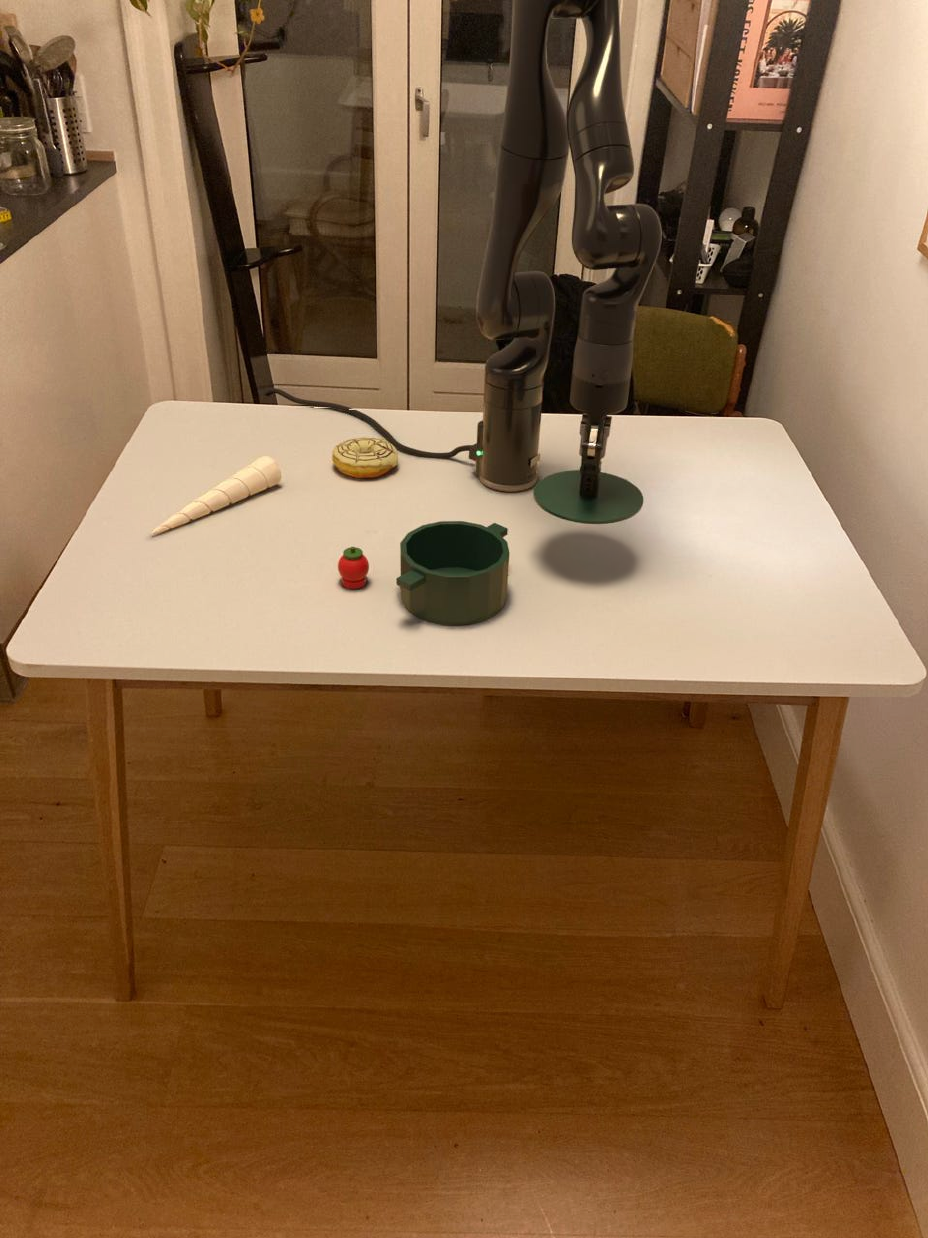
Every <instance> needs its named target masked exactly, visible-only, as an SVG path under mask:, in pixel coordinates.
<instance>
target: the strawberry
mask: <svg viewBox="0 0 928 1238" xmlns="http://www.w3.org/2000/svg"><path fill="white" fill-rule="evenodd" d="M369 570H370V563H369V560H368V558H367V557H366V555H365V554H364V553H363V550H362V549H361V548H360V547H356V546H351V547H350V546H349V547H347V548H345V549H344V550H343V551H342V555H341V557H340V558H339V560H338V562H337V571H338V574H339V575H340V576H341V579H342V580H341V581H342V585H343V587H345V588H346V589H351V590H356V589H361V588H363V587H365V585H366V584H367V575H368V573H369Z"/></svg>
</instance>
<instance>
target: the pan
mask: <svg viewBox="0 0 928 1238" xmlns="http://www.w3.org/2000/svg"><path fill="white" fill-rule="evenodd" d="M508 531H509V528H508V527H506V526H503V525H501V524H498V523H496V522H493V523H491V524H489V525H488V526H485V525H483V524H480V523H476V522H475V523H474V522H469V521H464V520H441V521H436V522H431V523H427V524H422V525H420V526H418V527H416V528H415V529H413V530H411V531H409V532H407V533H406V535H405V536H404V538H402V539H401V542H400V545H399V546H400V547H399V549H400V551H399V552H400V553H399V556H400V557H399V558H400V559H399V561H400V562H399V563H400V565H399V566H400V575H399V576H397V577H396V585H397V586H398V587H400V598H401V602H402V604H403V606H404V607H405V608H406V609H407V611H408V612H409V613H411V614H412V615H414V616H416V617H417V618H419V619H421V620H423V621H426V622H430V623H434V624H438V625H442V626H443V625H444V626H466V625H472V624H473V625H474V624H478V623H481V622H483V621H486V620H488V619H490V618H492V617H494V616H495V615H496V614H498V613H499V612H500V611H501V610H502V609H503V607H504V606H505V602H506V599H507V597H508V583H509V582H508V581H509V568H510V567H509V565H510V548H509V544H508V543H509V542H508V541H507V540H506V539H505V538H504V537H506V536H507V535H508V534H509V533H508Z"/></svg>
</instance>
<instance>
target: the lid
mask: <svg viewBox="0 0 928 1238" xmlns="http://www.w3.org/2000/svg"><path fill="white" fill-rule="evenodd" d="M600 468H601V470H600V473H599V475H598V481H597V489H596V496H595V497H594V498H588V497H581V496H580V485H581V476H582V474H580V471H579V470H580V469H572V470H564V471H563V470H562V471H558V472H555V473H554V472H553V473H552V474H549V475H547V476H545V477H543V478H541V479H540V480H539V481H538V482H536V483H535V485H534V487H533V500H534V502H535V503H536V505H538V506H539V508H540V509H542V510H543V511H544V512H546V513H547V514H549V515H551V516H554V517H556V518H559V519H561V520H565V521H567V522H572V523H577V524H584V525H609V524H615V523H619V522H620V523H621V522H624V521H626V520H629V519H631V518H633V517H635V516H636V515H637V514H639V512H640V511H641V510H642V508H643V506H644V494H643V492H642V491H641V489H639V488H638V487H637V486H636V485H635V484H634V483H633V482H630V481H629V480H628V479H626V478H623V477H621V476H619V475H616V474H612V473H608V472H603V471H602V460H601V461H600Z"/></svg>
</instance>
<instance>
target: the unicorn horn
mask: <svg viewBox="0 0 928 1238" xmlns="http://www.w3.org/2000/svg"><path fill="white" fill-rule="evenodd" d="M281 481H282V471H281V468H280V466H279V464H278V463H277V461H276V460H275V459H274V458H272V457H270V456H267V455H264V456H261V457H259V458H257V459H256V460H255V461H253V462H252V463H250V464H249V465H247V466H245V467H244V468H242V469H241V470H239V471H237V472H236V473H235V474H233V475H231V476H230V477H228V478H227V479H225V480H224V481H222V482H221V483H218V485H216V486H215V487H213V488H212V489H210V490H209V491H207V492H206V493H204V494H202V495H201V496H200V497H198V498H196V499H195V500H193V501H192V502H191V503H189V504H188V505H186V506H184V507H183V508H182V509H180V510H179V511H178V512H176V513H175V514H173V515H172V516H170V517H169V518H168V519H165V521H163V522H162V523H161V524H159V525H158V526H157V527H156V528H155V529H154V530H152V532H151V533H150V535H156V534H157V535H158V534H160V533H163V532H167V531H169V530H170V529H174V528H176V527H179V526H182V525H184V524H187V523H189V522H190V521H191V520H193V521H194V520H197V519H199V518H202V517H204V516H206V515H209V514H211V512H212V513H213V512H216V511H219V510H221V509H223V508H225V507H228V506H229V505H230V504H231V505H233V504H234V503H237V502H240V501H243V500H244V499H247V498H248V497H250V496H254V495H255V494H258V493H261V492H262V491H265V490H267V489H270V488H272V487H274V486H276V485H278V484H280V483H281Z"/></svg>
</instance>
